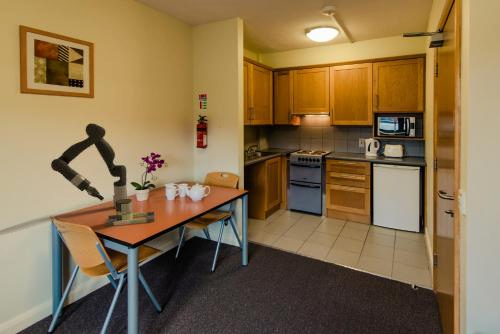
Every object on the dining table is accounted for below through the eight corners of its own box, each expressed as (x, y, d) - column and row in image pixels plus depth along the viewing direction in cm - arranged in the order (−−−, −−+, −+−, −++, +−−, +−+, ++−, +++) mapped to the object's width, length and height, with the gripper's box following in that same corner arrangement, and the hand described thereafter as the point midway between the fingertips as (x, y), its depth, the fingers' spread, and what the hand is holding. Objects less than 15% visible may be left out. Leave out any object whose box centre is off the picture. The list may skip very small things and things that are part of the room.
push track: (105, 226, 191) (105, 222, 190) (108, 219, 206) (108, 215, 205) (154, 221, 200) (154, 218, 199) (154, 214, 215) (154, 211, 214)
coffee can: (114, 223, 196) (112, 202, 194) (119, 218, 206) (118, 199, 204) (130, 223, 197) (128, 202, 195) (134, 218, 207) (133, 198, 205)
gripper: (82, 179, 184) (105, 197, 190) (86, 176, 197) (108, 193, 202) (73, 188, 183) (97, 206, 189) (78, 184, 196) (100, 201, 201)
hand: (103, 199), depth 195 cm, fingers closed
